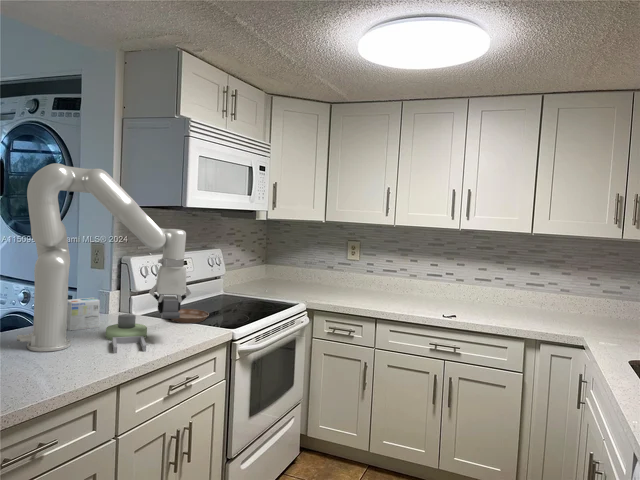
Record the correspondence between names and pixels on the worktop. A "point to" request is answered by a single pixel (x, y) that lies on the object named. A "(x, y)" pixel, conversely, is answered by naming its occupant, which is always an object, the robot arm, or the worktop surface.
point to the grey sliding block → (170, 308)
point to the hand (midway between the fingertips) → (168, 312)
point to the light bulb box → (83, 313)
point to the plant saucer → (191, 316)
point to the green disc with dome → (126, 332)
